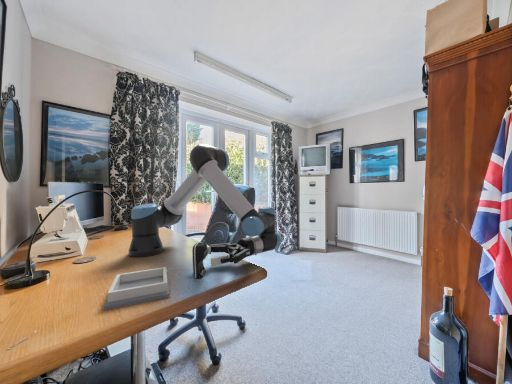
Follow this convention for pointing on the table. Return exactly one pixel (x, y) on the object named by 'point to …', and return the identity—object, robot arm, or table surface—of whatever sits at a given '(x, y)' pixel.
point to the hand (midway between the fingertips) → (202, 257)
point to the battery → (199, 259)
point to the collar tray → (138, 288)
